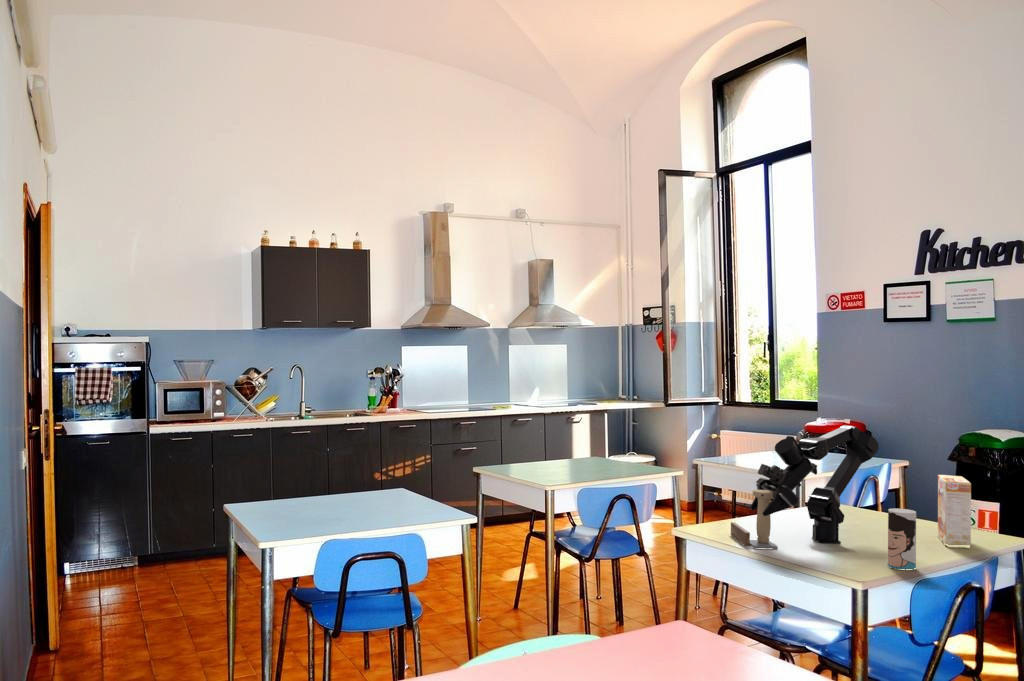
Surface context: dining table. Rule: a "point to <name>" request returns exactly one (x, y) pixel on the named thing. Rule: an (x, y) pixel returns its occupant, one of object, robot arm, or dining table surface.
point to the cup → (901, 538)
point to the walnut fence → (740, 534)
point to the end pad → (762, 544)
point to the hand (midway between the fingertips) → (757, 511)
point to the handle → (762, 520)
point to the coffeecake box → (954, 510)
